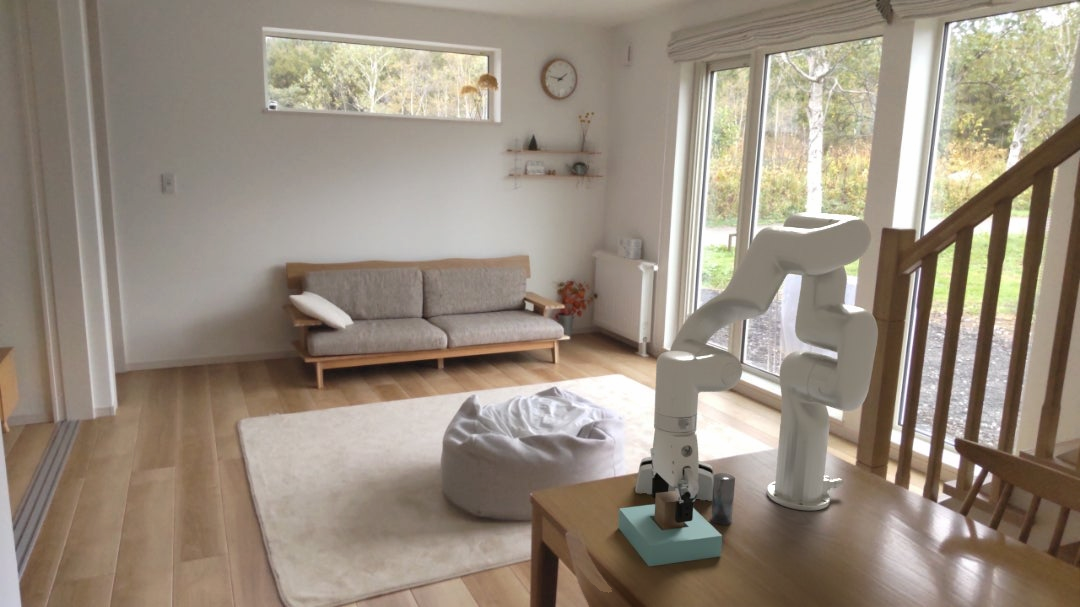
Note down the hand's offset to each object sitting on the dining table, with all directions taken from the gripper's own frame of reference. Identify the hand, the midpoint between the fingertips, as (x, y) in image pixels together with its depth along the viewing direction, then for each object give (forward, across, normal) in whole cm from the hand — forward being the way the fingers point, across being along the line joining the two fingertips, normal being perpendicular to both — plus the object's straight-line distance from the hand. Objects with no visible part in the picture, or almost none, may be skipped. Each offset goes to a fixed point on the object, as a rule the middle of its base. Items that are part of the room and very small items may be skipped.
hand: (671, 508), depth 133 cm
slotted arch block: (+7, +17, -10) cm, 21 cm away
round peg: (+7, +5, -14) cm, 16 cm away
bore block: (+6, 0, 0) cm, 7 cm away
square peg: (+6, 0, 0) cm, 7 cm away
